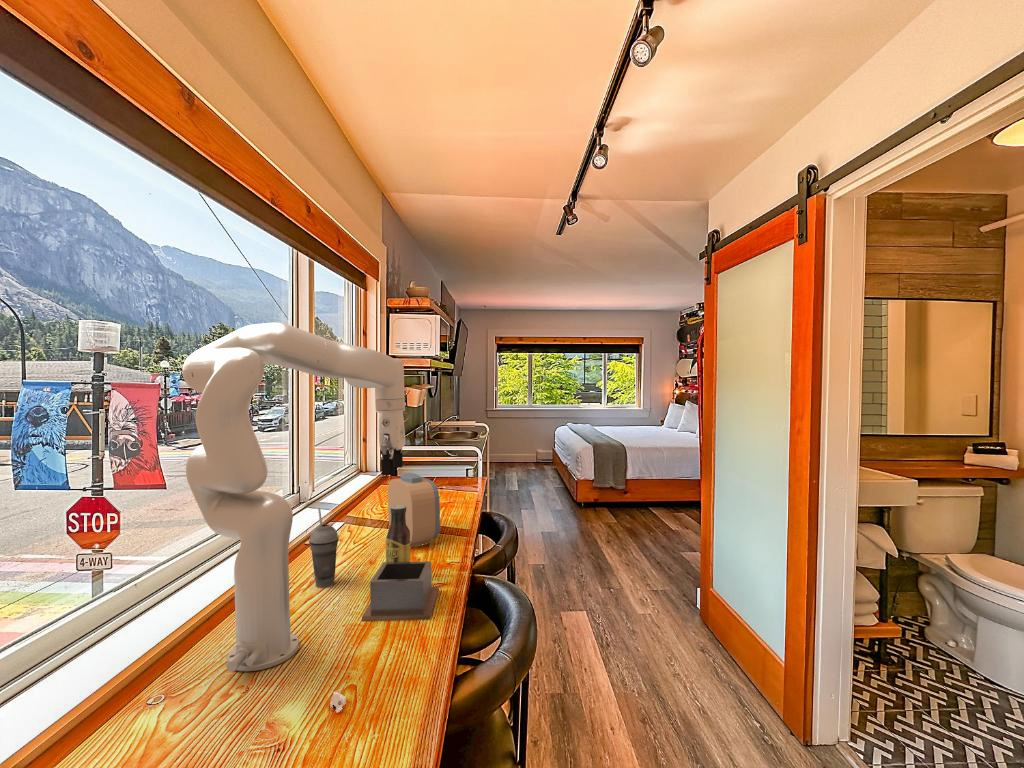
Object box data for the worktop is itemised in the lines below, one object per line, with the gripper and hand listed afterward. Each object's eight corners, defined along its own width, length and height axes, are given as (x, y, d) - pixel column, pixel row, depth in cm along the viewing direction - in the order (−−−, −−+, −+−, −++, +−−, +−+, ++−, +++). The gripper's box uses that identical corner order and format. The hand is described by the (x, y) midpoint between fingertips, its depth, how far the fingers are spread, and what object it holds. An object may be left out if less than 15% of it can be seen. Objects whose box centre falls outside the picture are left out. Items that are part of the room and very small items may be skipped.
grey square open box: (429, 619, 111) (429, 583, 111) (361, 620, 111) (361, 585, 111) (439, 590, 126) (438, 558, 126) (379, 591, 126) (378, 560, 126)
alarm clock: (441, 546, 160) (439, 478, 160) (413, 552, 155) (411, 482, 154) (415, 530, 177) (413, 469, 177) (388, 535, 172) (387, 472, 171)
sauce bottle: (381, 581, 133) (379, 506, 132) (401, 574, 137) (399, 501, 137) (395, 588, 128) (394, 510, 128) (415, 580, 133) (414, 505, 133)
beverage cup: (329, 591, 127) (328, 512, 127) (304, 589, 129) (302, 511, 128) (345, 579, 134) (343, 505, 134) (320, 577, 136) (318, 504, 136)
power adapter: (327, 711, 82) (327, 692, 82) (341, 703, 84) (340, 684, 84) (339, 718, 80) (339, 698, 80) (353, 709, 82) (352, 690, 82)
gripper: (397, 408, 123) (399, 477, 123) (411, 403, 140) (413, 464, 141) (366, 409, 123) (369, 478, 123) (384, 403, 140) (386, 465, 141)
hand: (392, 470), depth 132 cm, fingers open, 9 cm apart
